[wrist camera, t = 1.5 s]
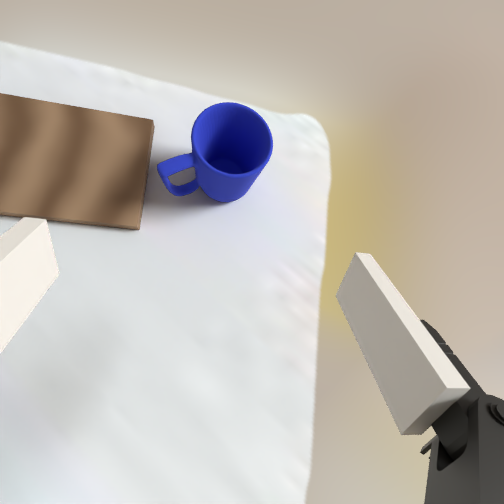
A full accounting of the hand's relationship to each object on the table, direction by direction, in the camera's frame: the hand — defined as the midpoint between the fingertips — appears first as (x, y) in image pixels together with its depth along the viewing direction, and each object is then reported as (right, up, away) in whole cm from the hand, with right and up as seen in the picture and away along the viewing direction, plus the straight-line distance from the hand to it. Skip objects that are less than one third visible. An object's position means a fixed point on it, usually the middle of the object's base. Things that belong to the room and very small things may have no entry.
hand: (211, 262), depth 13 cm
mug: (-4, +9, +25) cm, 27 cm away
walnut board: (-20, +11, +22) cm, 32 cm away
